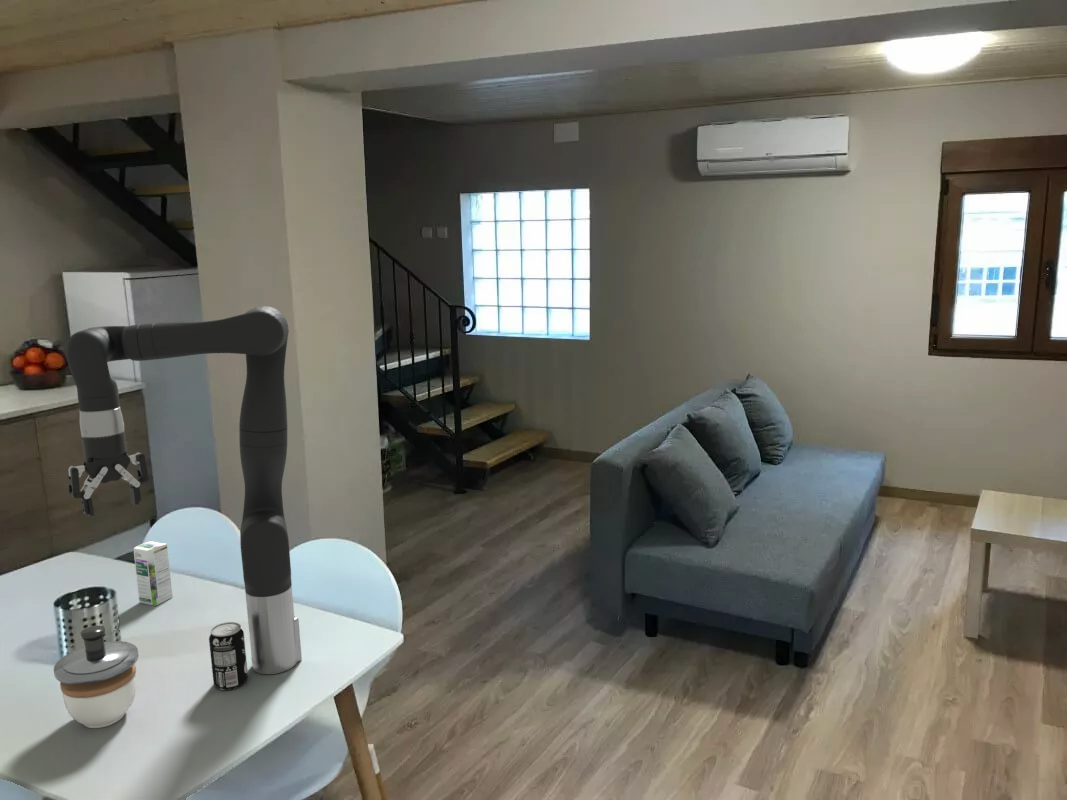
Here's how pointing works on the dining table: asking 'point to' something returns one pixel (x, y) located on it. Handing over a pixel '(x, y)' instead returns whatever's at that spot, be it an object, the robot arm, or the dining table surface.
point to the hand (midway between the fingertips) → (112, 510)
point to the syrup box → (153, 573)
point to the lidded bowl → (100, 699)
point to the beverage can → (228, 656)
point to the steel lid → (95, 659)
